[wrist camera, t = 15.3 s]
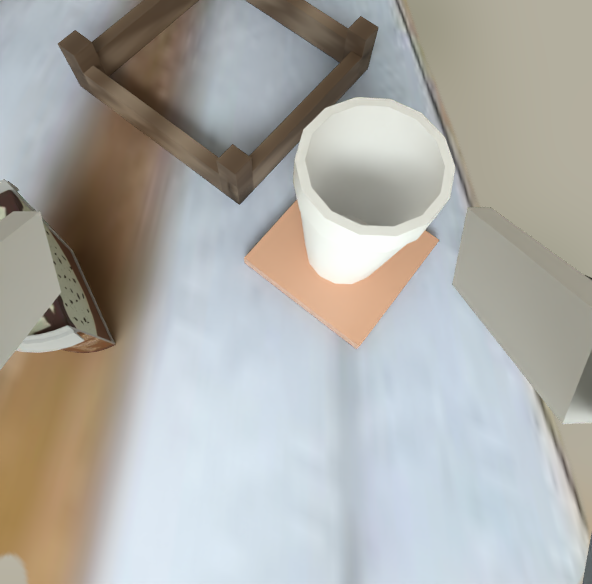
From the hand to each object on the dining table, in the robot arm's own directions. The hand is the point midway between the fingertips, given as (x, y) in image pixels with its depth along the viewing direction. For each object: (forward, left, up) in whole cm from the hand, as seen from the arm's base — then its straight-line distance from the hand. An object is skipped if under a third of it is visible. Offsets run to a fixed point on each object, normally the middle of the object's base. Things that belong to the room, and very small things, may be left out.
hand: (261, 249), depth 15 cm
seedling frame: (-21, +20, -24) cm, 37 cm away
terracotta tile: (-1, +12, -24) cm, 27 cm away
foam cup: (-1, +12, -23) cm, 26 cm away
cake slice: (-16, -7, -24) cm, 30 cm away
